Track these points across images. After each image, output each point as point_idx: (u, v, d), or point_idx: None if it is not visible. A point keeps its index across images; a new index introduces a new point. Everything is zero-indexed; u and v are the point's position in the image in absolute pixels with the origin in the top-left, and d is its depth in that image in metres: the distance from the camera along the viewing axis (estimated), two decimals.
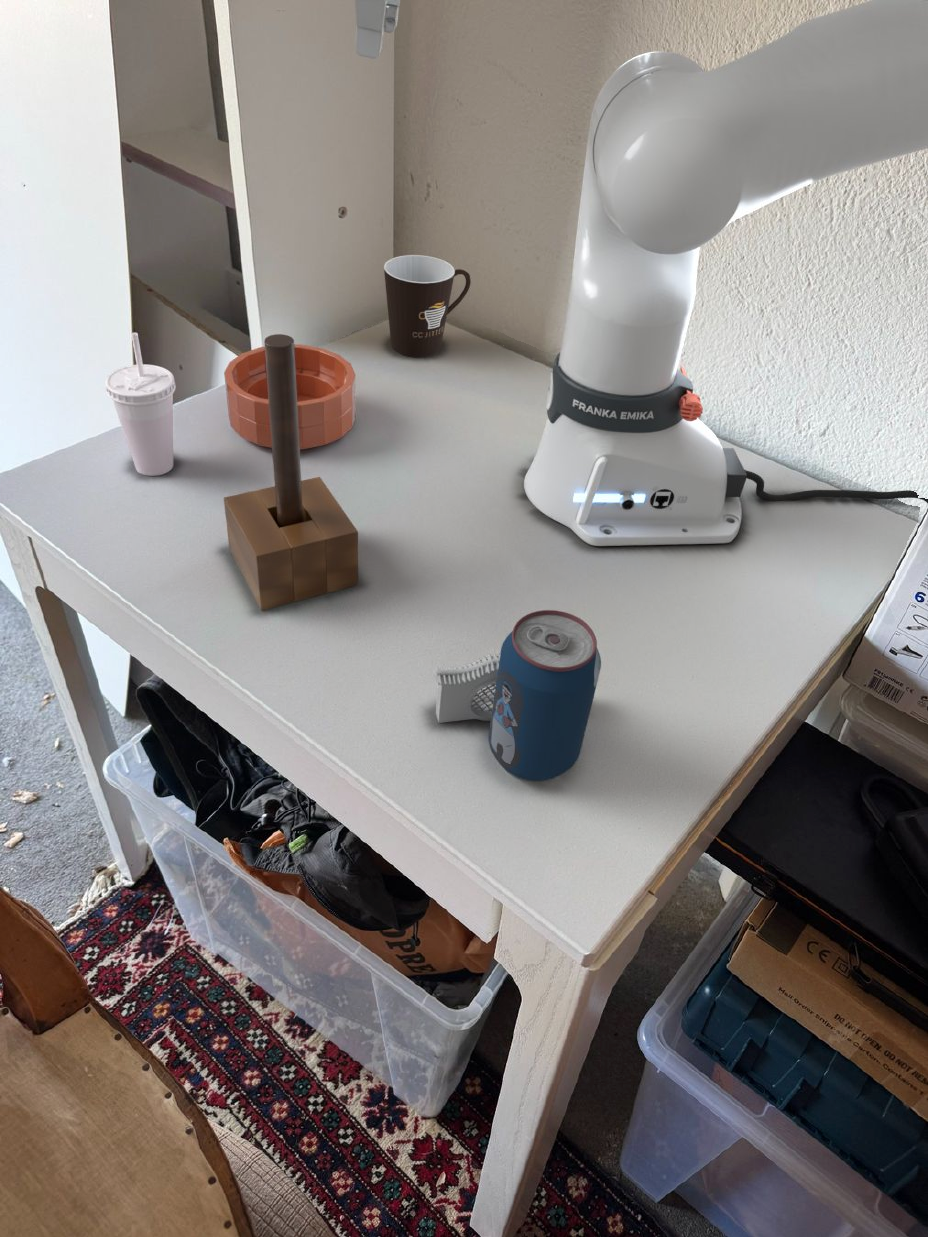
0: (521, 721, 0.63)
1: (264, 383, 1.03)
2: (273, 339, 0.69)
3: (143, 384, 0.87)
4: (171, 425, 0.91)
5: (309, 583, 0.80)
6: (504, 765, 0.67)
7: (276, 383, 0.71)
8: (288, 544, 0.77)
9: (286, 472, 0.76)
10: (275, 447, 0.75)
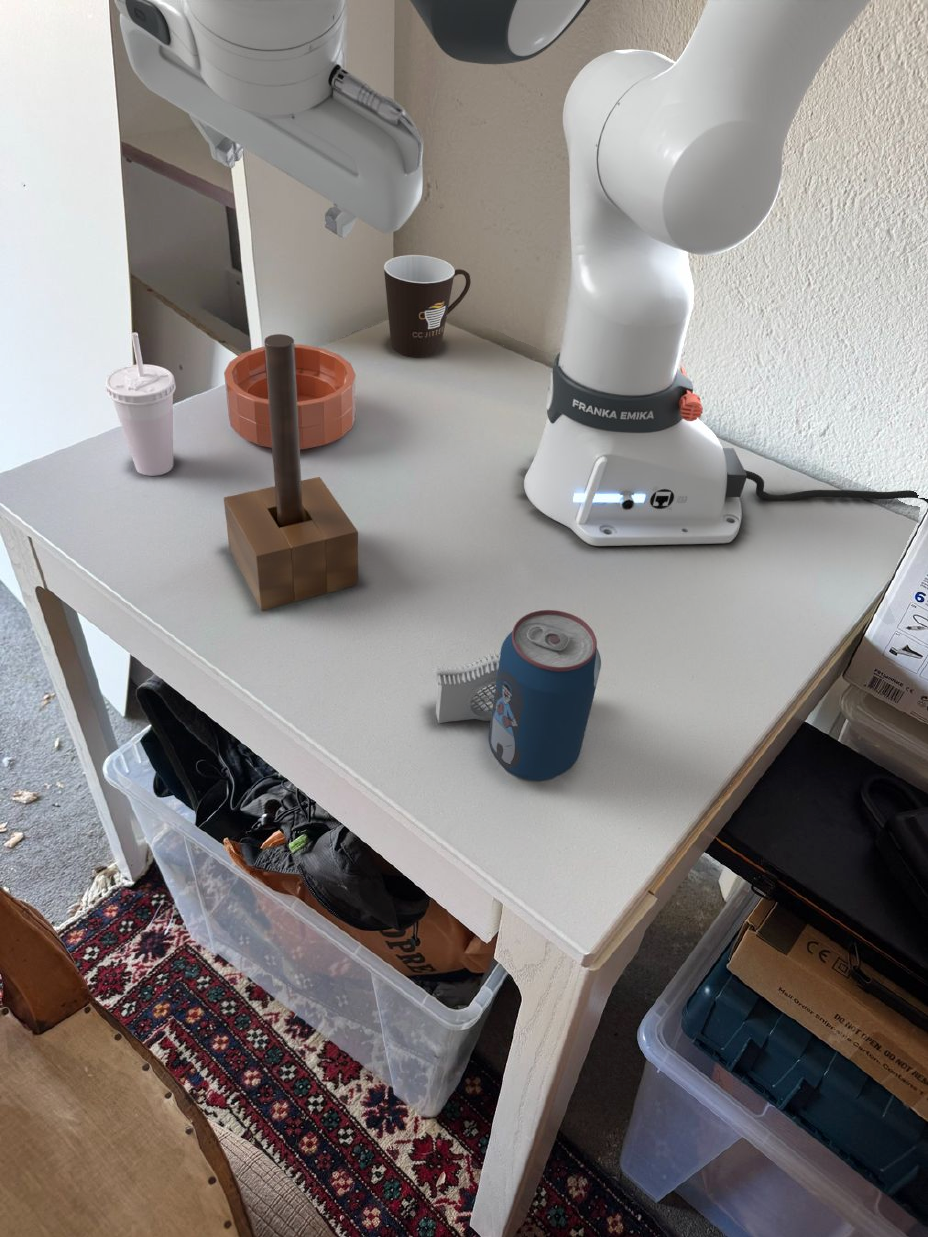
0: (521, 721, 0.63)
1: (264, 383, 1.03)
2: (273, 339, 0.69)
3: (143, 384, 0.87)
4: (171, 425, 0.91)
5: (309, 583, 0.80)
6: (504, 765, 0.67)
7: (276, 383, 0.71)
8: (288, 544, 0.77)
9: (286, 472, 0.76)
10: (275, 447, 0.75)
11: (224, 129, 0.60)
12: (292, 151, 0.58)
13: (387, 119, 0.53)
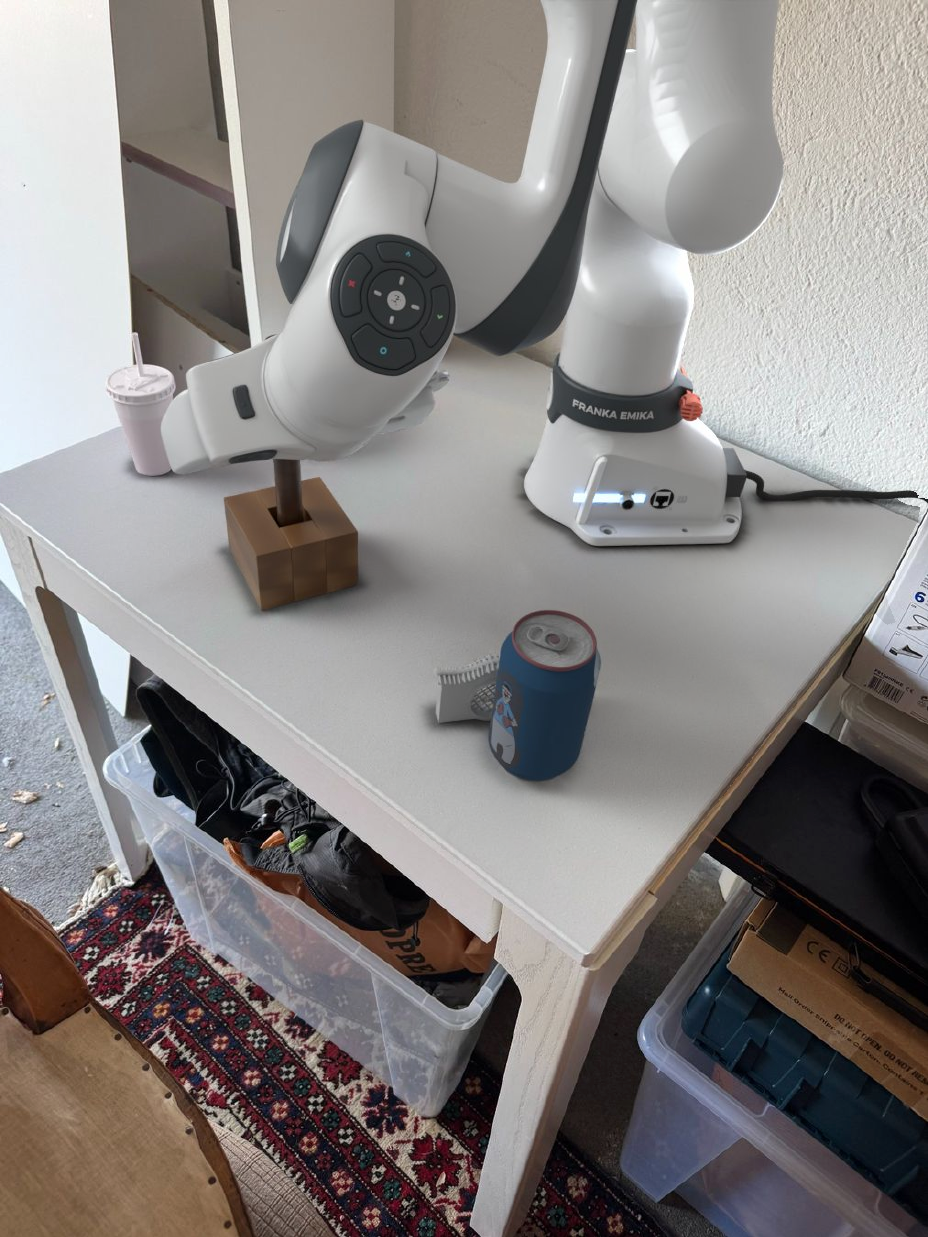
0: (521, 721, 0.63)
1: None
2: None
3: (143, 384, 0.87)
4: None
5: (309, 583, 0.80)
6: (504, 765, 0.67)
7: None
8: (288, 544, 0.77)
9: (286, 472, 0.76)
10: None
11: None
12: None
13: (431, 383, 0.67)
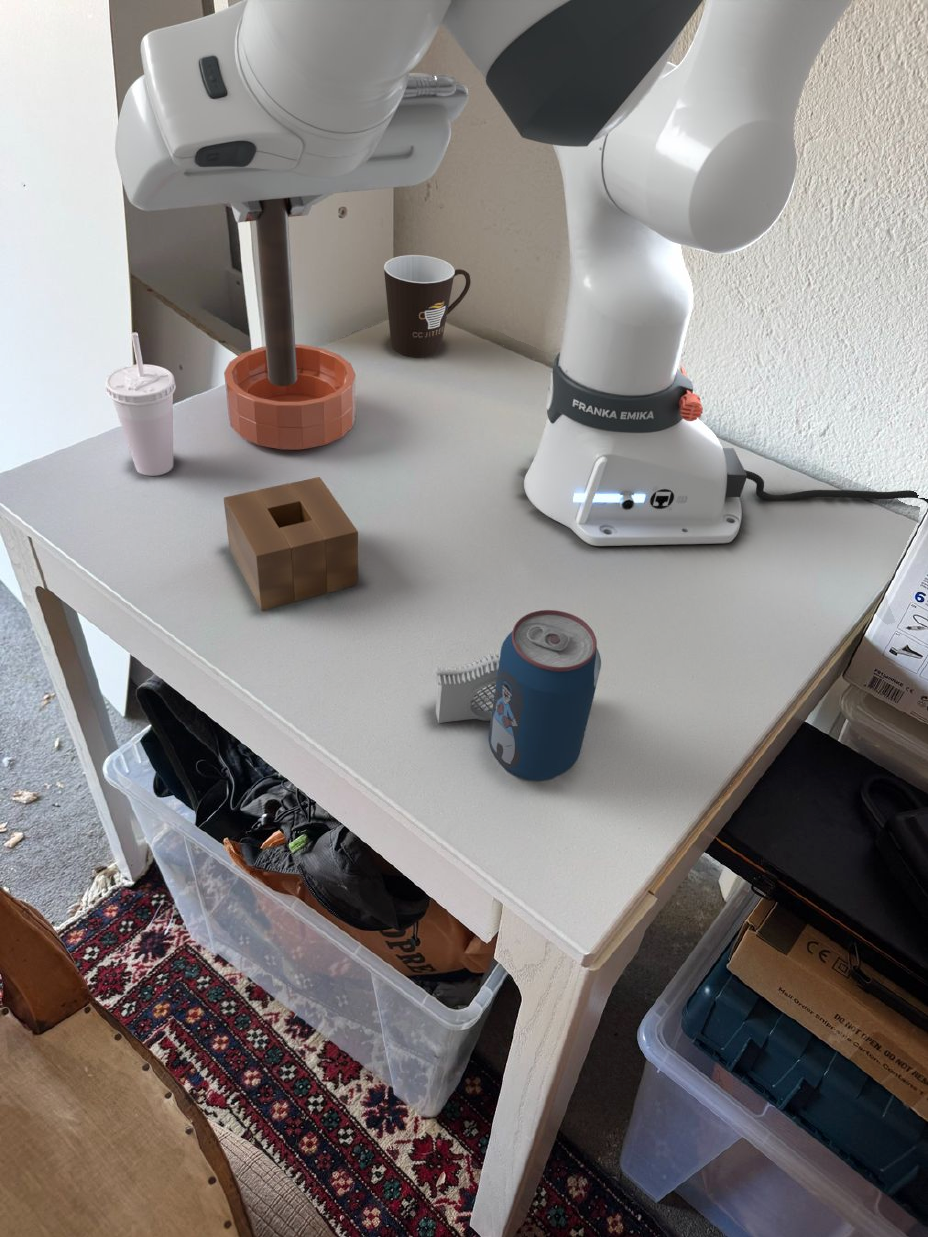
0: (521, 721, 0.63)
1: (264, 383, 1.03)
2: None
3: (143, 384, 0.87)
4: (171, 425, 0.91)
5: (309, 583, 0.80)
6: (504, 765, 0.67)
7: None
8: (288, 544, 0.77)
9: (272, 241, 0.64)
10: None
11: (248, 196, 0.57)
12: None
13: (446, 95, 0.55)
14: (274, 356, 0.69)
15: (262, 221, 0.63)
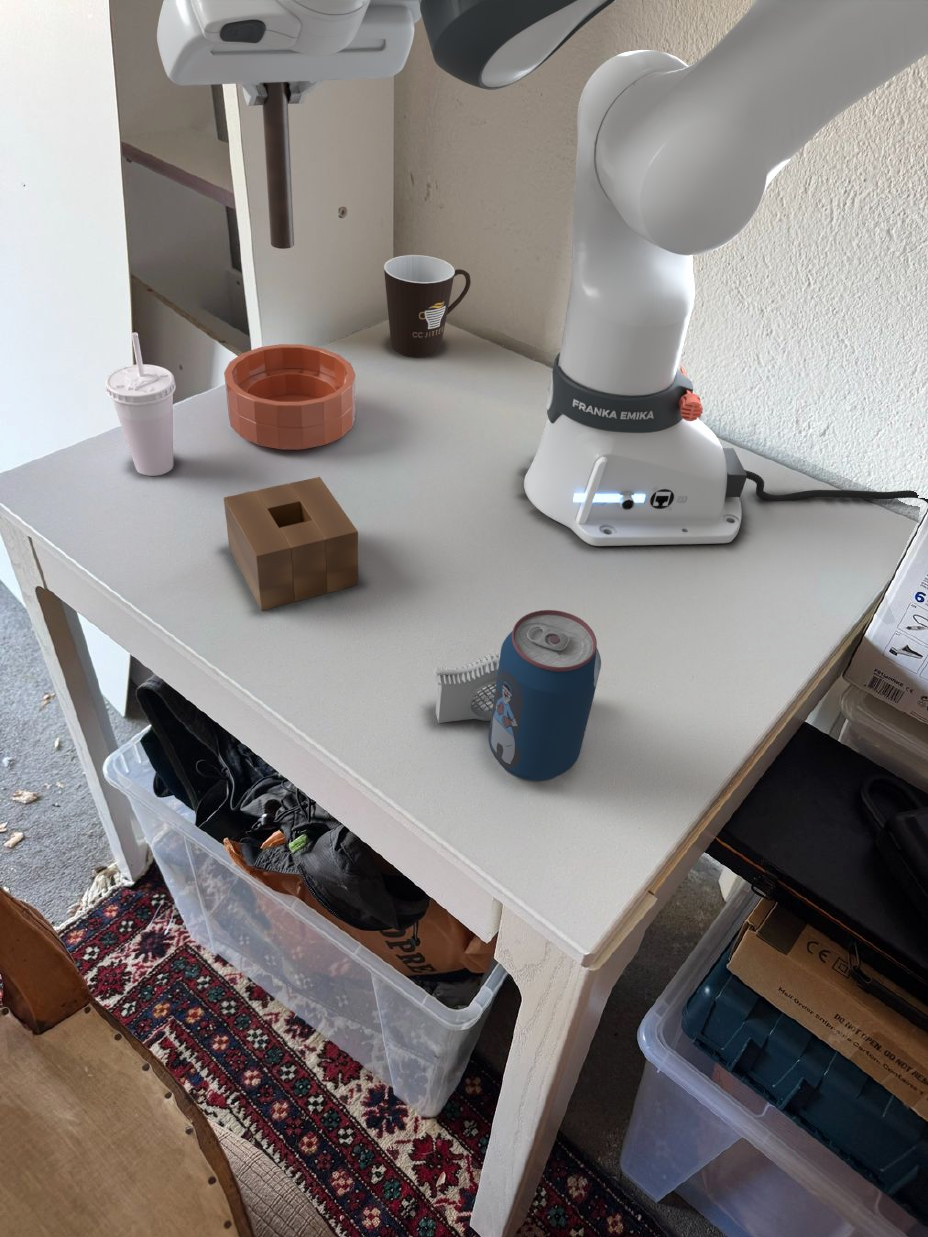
0: (521, 721, 0.63)
1: (264, 383, 1.03)
2: None
3: (143, 384, 0.87)
4: (171, 425, 0.91)
5: (309, 583, 0.80)
6: (504, 765, 0.67)
7: None
8: (288, 544, 0.77)
9: (275, 121, 0.81)
10: None
11: (257, 78, 0.75)
12: (324, 61, 0.75)
13: None
14: (276, 222, 0.86)
15: (267, 105, 0.80)
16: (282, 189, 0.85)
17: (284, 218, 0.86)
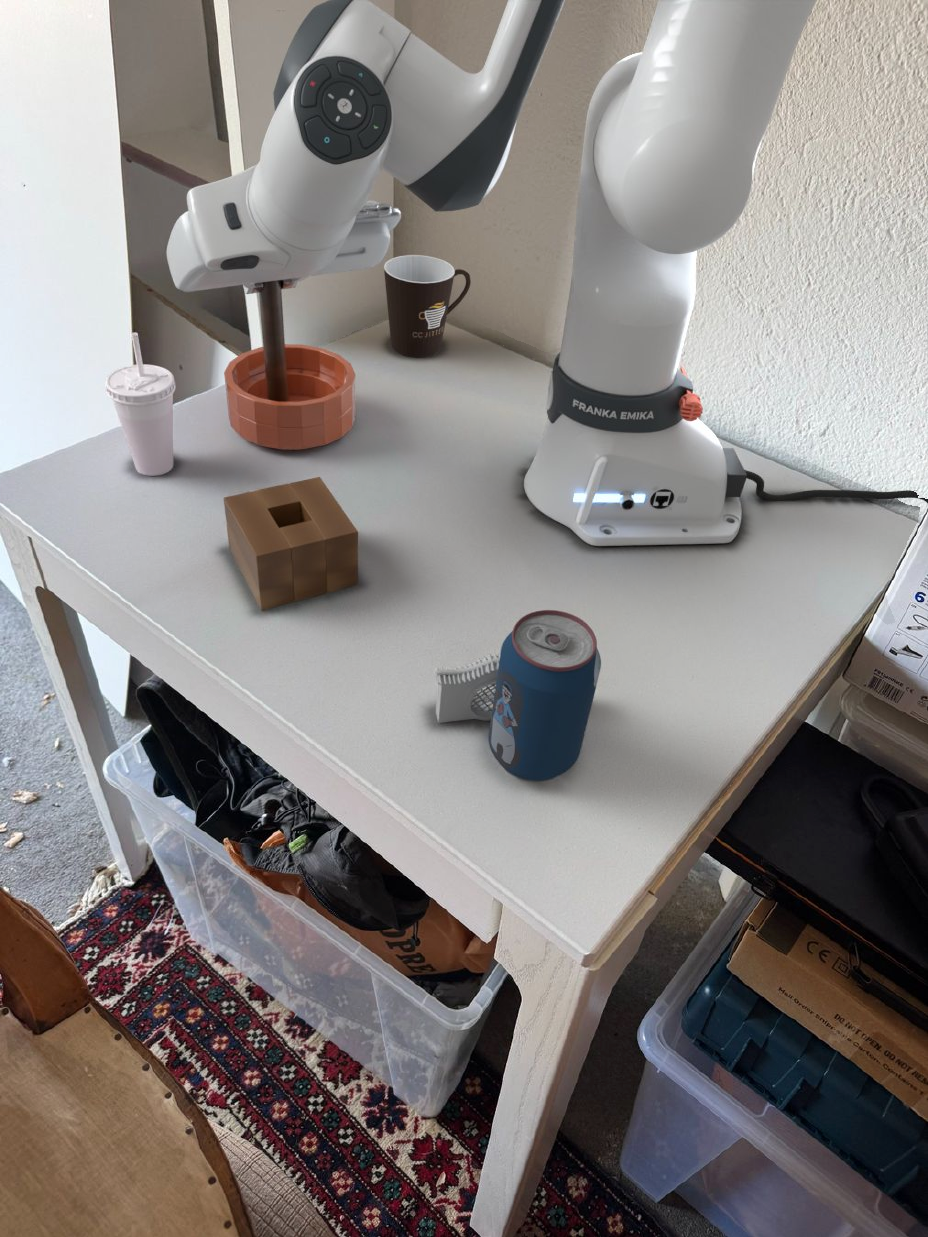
0: (521, 721, 0.63)
1: (264, 383, 1.03)
2: None
3: (143, 384, 0.87)
4: (171, 425, 0.91)
5: (309, 583, 0.80)
6: (504, 765, 0.67)
7: None
8: (288, 544, 0.77)
9: (270, 305, 0.92)
10: None
11: (254, 281, 0.86)
12: None
13: (385, 216, 0.83)
14: (271, 384, 0.98)
15: (263, 292, 0.91)
16: (277, 358, 0.96)
17: (279, 380, 0.97)
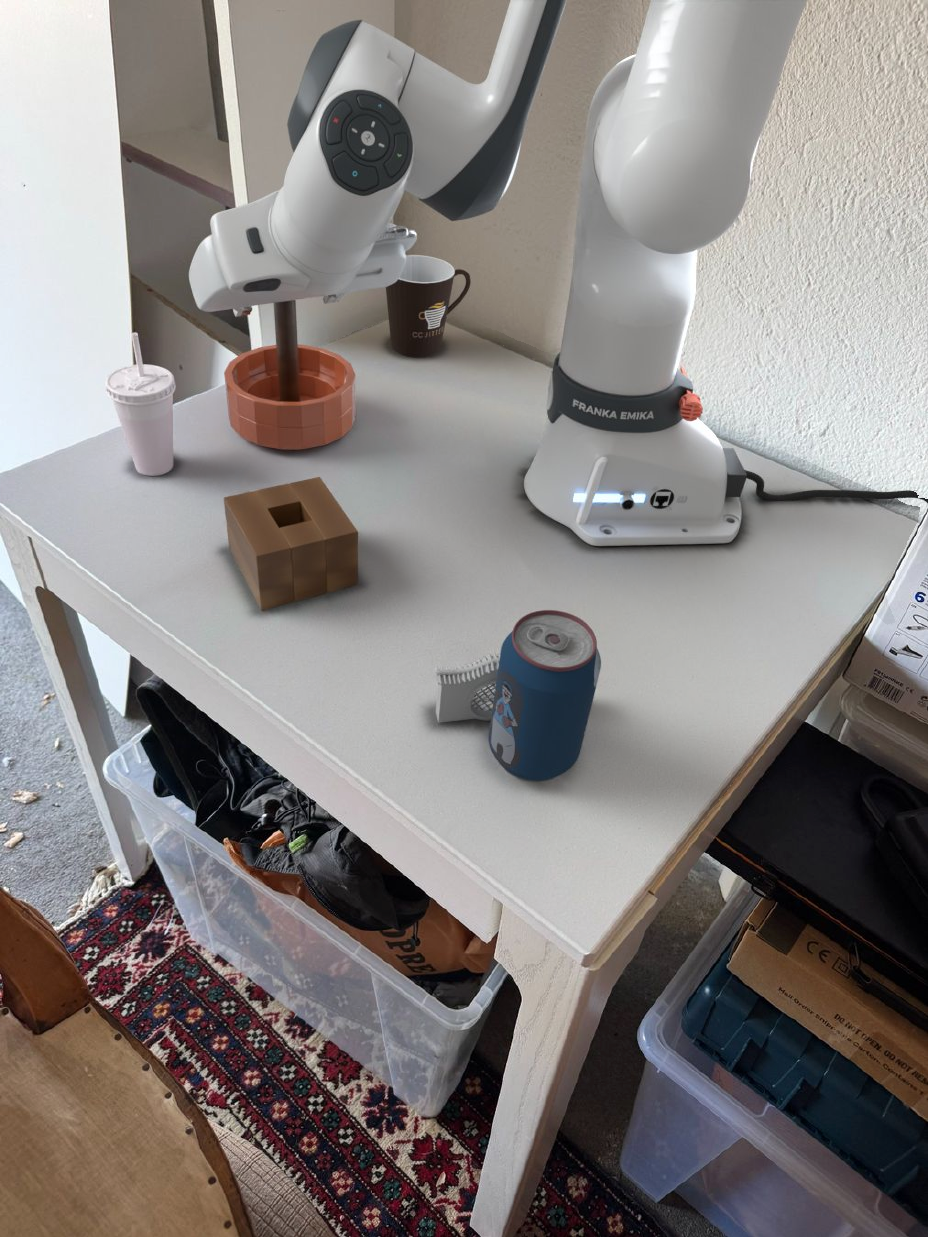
0: (521, 721, 0.63)
1: (264, 383, 1.03)
2: None
3: (143, 384, 0.87)
4: (171, 425, 0.91)
5: (309, 583, 0.80)
6: (504, 765, 0.67)
7: None
8: (288, 544, 0.77)
9: (285, 325, 0.94)
10: (276, 303, 0.93)
11: (273, 300, 0.88)
12: None
13: (402, 238, 0.85)
14: (285, 400, 1.00)
15: (278, 312, 0.93)
16: (291, 375, 0.98)
17: (292, 397, 1.00)
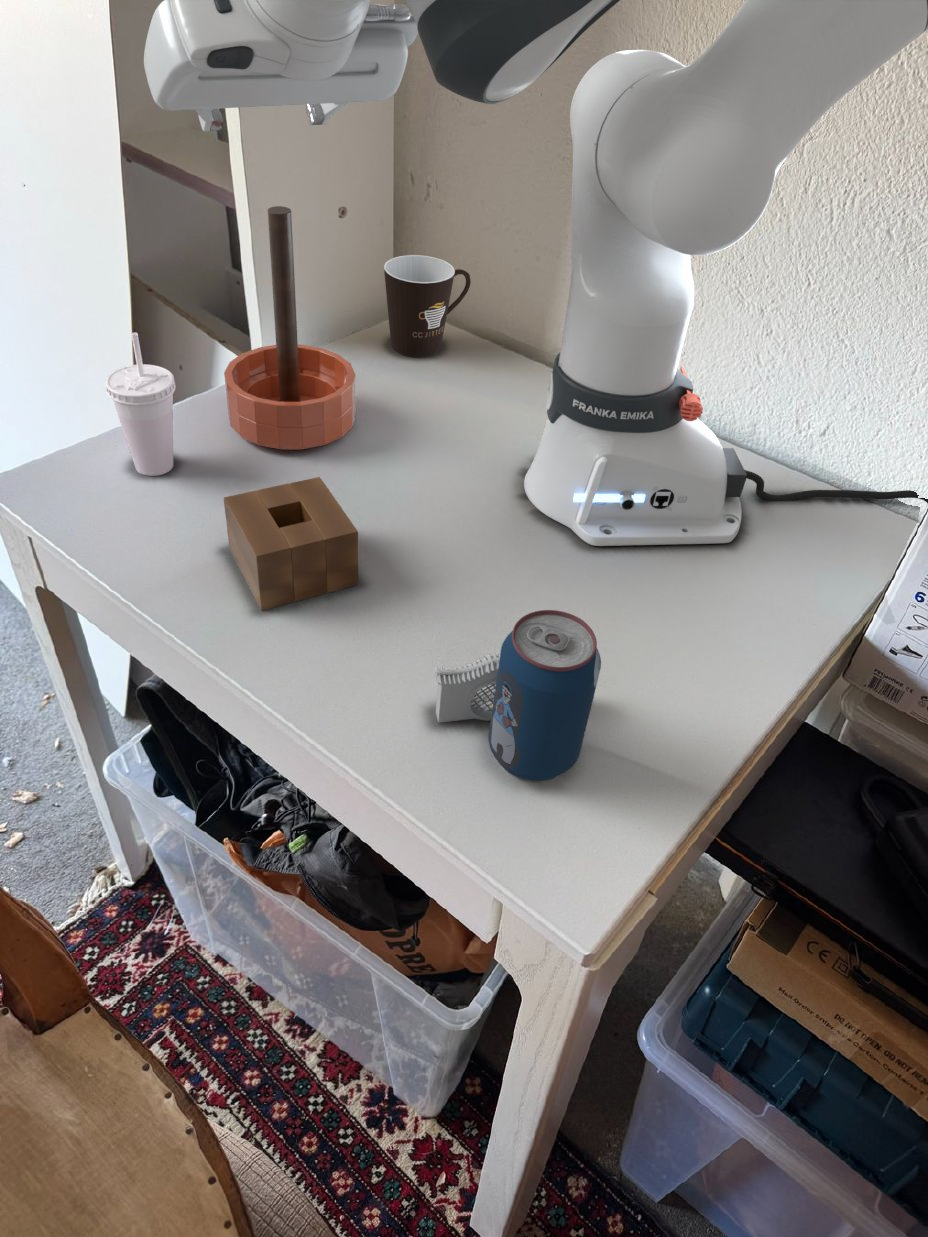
0: (521, 721, 0.63)
1: (264, 383, 1.03)
2: (274, 209, 0.88)
3: (143, 384, 0.87)
4: (171, 425, 0.91)
5: (309, 583, 0.80)
6: (504, 765, 0.67)
7: (276, 246, 0.89)
8: (288, 544, 0.77)
9: (285, 325, 0.94)
10: (276, 303, 0.93)
11: (247, 102, 0.73)
12: (315, 85, 0.73)
13: (403, 20, 0.70)
14: (285, 400, 1.00)
15: (278, 312, 0.93)
16: (291, 375, 0.98)
17: (292, 397, 1.00)
